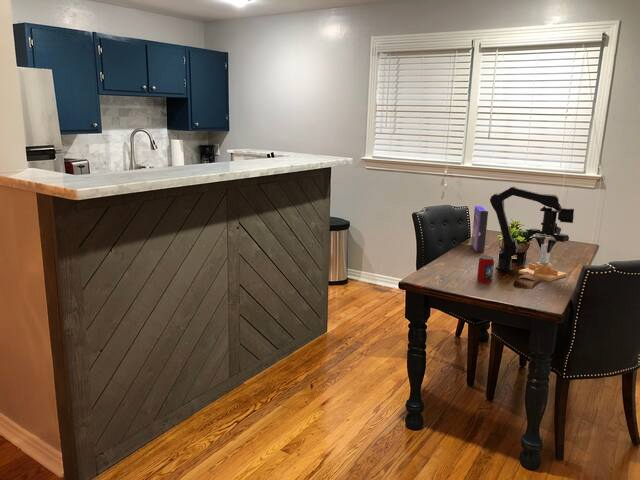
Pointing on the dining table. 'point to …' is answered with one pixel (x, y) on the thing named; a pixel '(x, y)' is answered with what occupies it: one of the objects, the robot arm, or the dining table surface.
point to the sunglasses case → (526, 281)
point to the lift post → (544, 254)
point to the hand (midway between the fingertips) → (545, 252)
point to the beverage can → (485, 269)
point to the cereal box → (479, 228)
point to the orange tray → (543, 271)
